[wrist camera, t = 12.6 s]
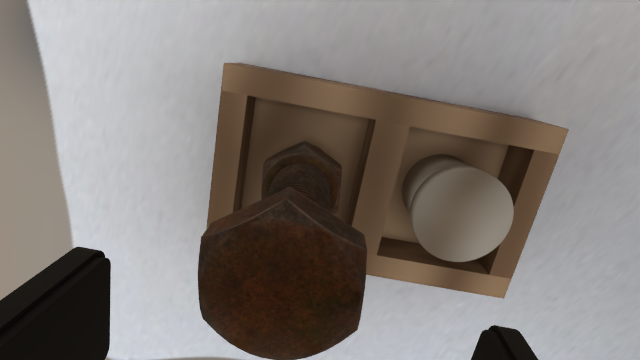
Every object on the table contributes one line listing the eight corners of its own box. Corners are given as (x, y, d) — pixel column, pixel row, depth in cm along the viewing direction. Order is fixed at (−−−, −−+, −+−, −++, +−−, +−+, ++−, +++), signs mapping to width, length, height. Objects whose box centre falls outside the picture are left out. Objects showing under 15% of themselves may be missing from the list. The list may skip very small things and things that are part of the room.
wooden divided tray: (532, 119, 26) (592, 135, 20) (480, 267, 29) (518, 317, 23) (239, 62, 25) (213, 63, 19) (221, 221, 28) (194, 262, 23)
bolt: (362, 159, 26) (408, 281, 11) (320, 216, 27) (313, 390, 13) (290, 109, 25) (241, 174, 10) (250, 171, 26) (157, 304, 12)
